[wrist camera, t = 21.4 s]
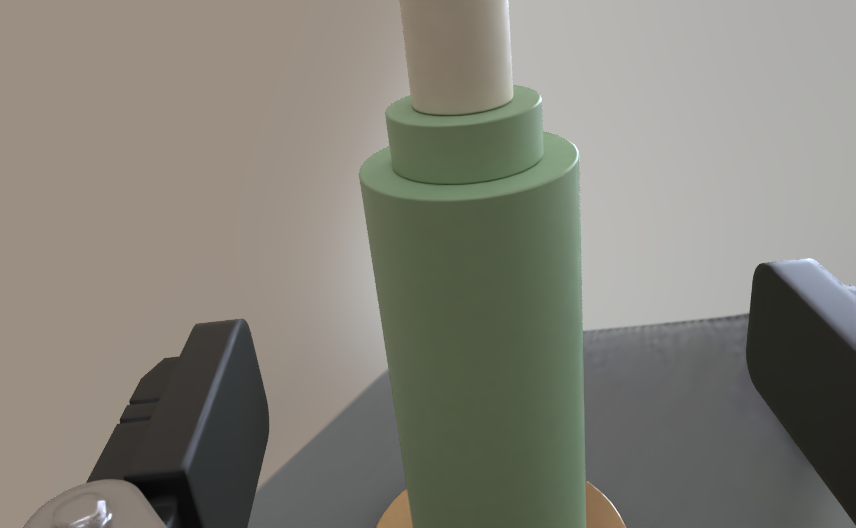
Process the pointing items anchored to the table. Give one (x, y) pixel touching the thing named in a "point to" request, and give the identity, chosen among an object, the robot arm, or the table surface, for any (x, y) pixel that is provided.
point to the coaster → (600, 512)
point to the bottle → (479, 281)
